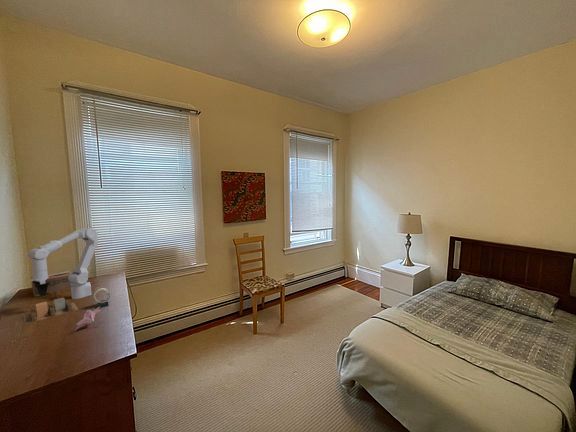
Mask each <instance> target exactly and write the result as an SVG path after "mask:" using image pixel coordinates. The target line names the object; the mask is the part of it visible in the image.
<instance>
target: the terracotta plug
mask: <svg viewBox="0 0 576 432" xmlns="http://www.w3.org/2000/svg"><path fill="white" fill-rule="evenodd" d="M35 312H36V315H37V317H41V316H45V315H48V302H47V301H42V302H39V303H36V304H35Z"/></svg>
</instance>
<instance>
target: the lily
mask: <svg viewBox="0 0 576 432" xmlns="http://www.w3.org/2000/svg"><path fill="white" fill-rule="evenodd" d="M101 312H102V310H100V308H99V307H96V308H95V309H94V310H91V309H88V310H86V311H85V313H84V315H83V319H81V320H80V321H79V322H78V323H76V324H75V325H76V326H77V327H76V328H75V332H76V331H77V330H79V328H81V327H82V326H83V325H85V324H87V325H88V324H91V323H92V322H93V323H94V324H95V326H96V327H97V328H99V326H98V324H97V323H96V322H95V321H94V320H95V316H96V315H97V314H98V313H101Z"/></svg>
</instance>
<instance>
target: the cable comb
mask: <svg viewBox="0 0 576 432" xmlns="http://www.w3.org/2000/svg"><path fill="white" fill-rule="evenodd" d="M65 306H66V310H63V311H60V312H55V309H54V304H53V303H47V307H48V315H45V316H41V317H37V315H36V308H35V307H32V308H29V311H30V313H28V314H27V313H26V314H24V315H22V316H23V322H24V325H28V324H32V323H36V322H38V321H39V322H40V321H42V320H46V319H50V318H53V317H57V316H60V315H64V314H67V313H71V312H75V311H78V310H79V308H78V307H77V305H76V304H75V302H70V300H69V299H65Z"/></svg>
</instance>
